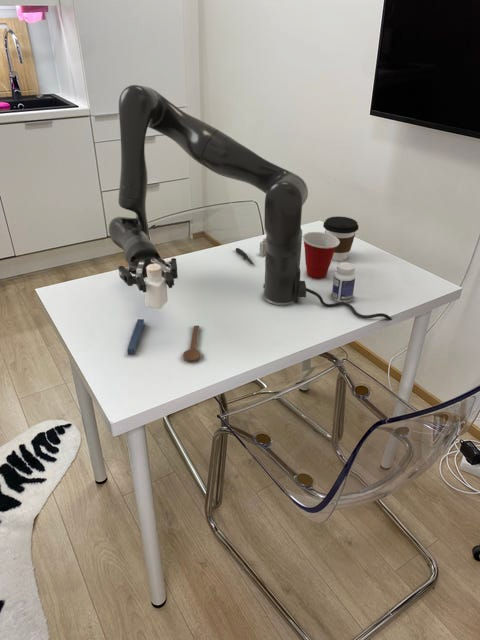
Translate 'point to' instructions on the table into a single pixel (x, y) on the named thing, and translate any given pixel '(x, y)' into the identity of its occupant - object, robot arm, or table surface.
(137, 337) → the blue stick
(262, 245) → the lighter
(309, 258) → the plastic cup
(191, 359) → the wooden spoon
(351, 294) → the pill bottle
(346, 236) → the coffee cup
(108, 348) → the table surface
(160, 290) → the salt shaker
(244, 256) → the folding knife
